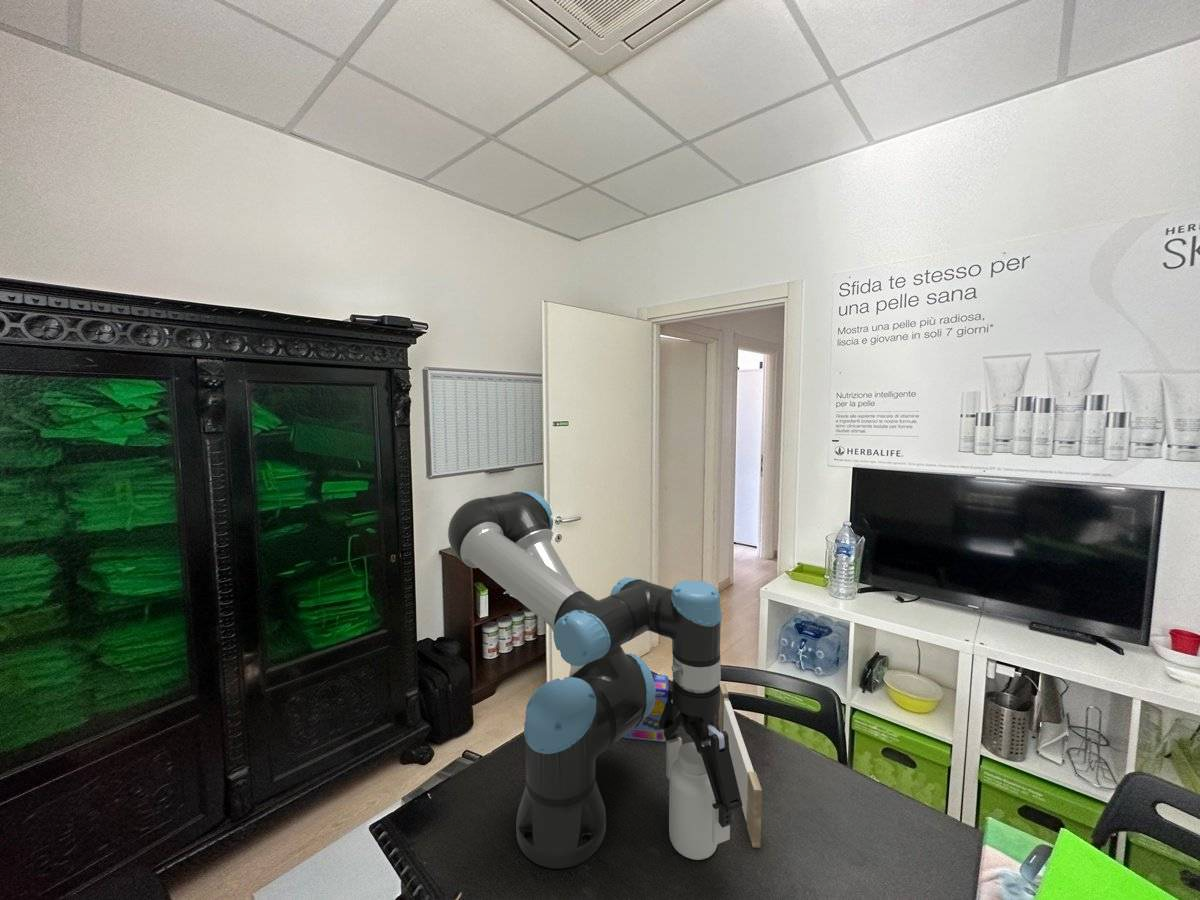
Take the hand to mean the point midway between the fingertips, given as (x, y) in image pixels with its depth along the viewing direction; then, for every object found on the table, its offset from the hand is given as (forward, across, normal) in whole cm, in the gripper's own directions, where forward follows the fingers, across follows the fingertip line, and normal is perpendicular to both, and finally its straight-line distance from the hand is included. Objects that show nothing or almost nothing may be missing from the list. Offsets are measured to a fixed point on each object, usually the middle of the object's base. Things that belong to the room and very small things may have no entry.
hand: (695, 805), depth 77 cm
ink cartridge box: (+6, -26, +4) cm, 27 cm away
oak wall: (+6, -8, +15) cm, 18 cm away
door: (+6, -9, +15) cm, 18 cm away
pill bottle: (+6, 0, 0) cm, 6 cm away
